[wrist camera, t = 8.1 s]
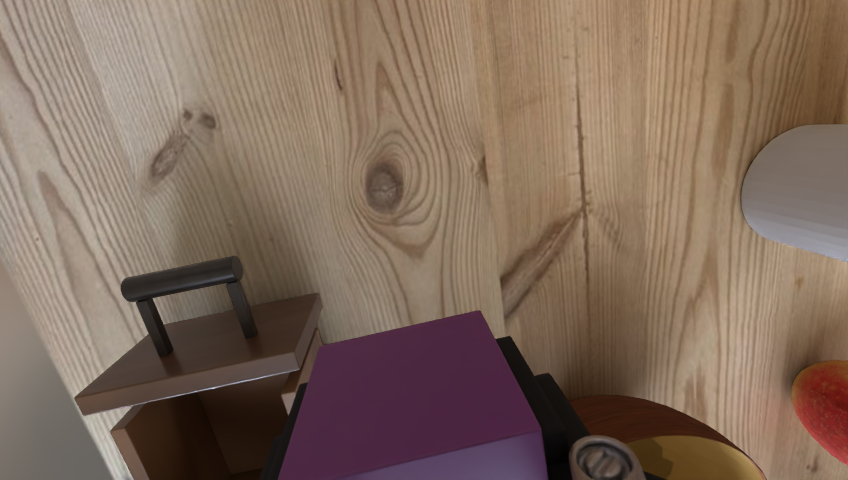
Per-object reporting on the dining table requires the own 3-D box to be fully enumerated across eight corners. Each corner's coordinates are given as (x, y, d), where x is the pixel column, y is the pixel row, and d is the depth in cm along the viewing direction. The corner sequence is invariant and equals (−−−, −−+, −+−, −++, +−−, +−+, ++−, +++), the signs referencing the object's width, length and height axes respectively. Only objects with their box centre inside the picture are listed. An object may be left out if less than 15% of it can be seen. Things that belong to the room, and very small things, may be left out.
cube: (359, 473, 13) (343, 668, 8) (318, 345, 11) (272, 491, 7) (503, 439, 13) (568, 611, 8) (479, 308, 12) (542, 428, 7)
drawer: (130, 260, 26) (28, 312, 19) (300, 225, 27) (266, 263, 19) (221, 474, 31) (168, 582, 24) (362, 443, 32) (354, 539, 24)
